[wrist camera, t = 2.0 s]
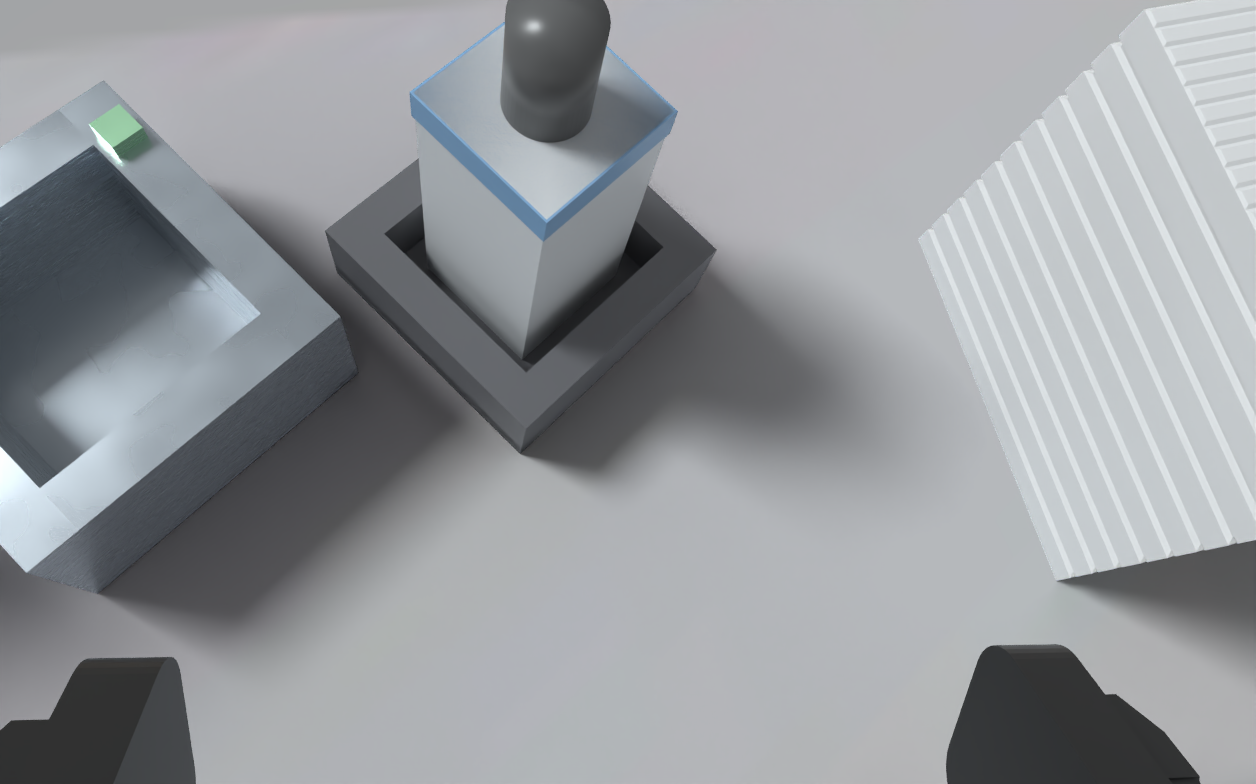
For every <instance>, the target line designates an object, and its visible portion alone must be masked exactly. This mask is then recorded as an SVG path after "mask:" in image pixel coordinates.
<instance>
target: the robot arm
mask: <svg viewBox="0 0 1256 784" xmlns="http://www.w3.org/2000/svg"><path fill="white" fill-rule="evenodd" d="M946 773H947V783H948V784H1200V781H1199V777H1200V776H1199V775H1198V774H1197V773H1196V771H1195V770H1194V769H1193V768H1192V766H1191V765H1190V764H1189V763H1188V761H1187V760H1186V759H1185V758H1184V756H1183V755H1182V754H1181V753H1180V751H1179V750H1178V749H1177V747H1176V746H1175V745H1174V744H1173V742H1172V741H1171V740H1170V739H1169V737H1168V736H1167V735H1166V734H1165V732H1164V731H1162V730H1161V729H1160V728H1158V727H1157V726H1156V725H1155V724H1153V723H1152V722H1151V721H1149V720H1148V719H1147V718H1146V717H1144V716H1143V715H1142V714H1141V713H1139V712H1138V711H1137V710H1135V709H1134V708H1133V707H1132V706H1130V705H1129V704H1128V703H1126V702H1125V701H1124V700H1123V699H1121V698H1120V697H1119V696H1117V695H1116V694H1108V695H1105V694H1104V693H1103V691H1102V690H1101V689H1100V687H1099V686H1098V685H1097V683H1096V682H1095V681H1094V679H1093V678H1092V677H1091V675H1090V674H1089V673H1088V671H1087V670H1086V669H1085V667H1084V666H1083V665H1082V664H1081V662H1080V661H1079V660H1078V658H1077V657H1076V656H1075V655H1074V654H1073V652H1071V651H1070V650H1069V649H1068V648H1066V647H1064V646H1062V645H1057V644H1054V645H997V646H990V647H988V648H986V649H985V650H984V651H983V652H982V654H981V655H980V657H979V659H978V662H977V665H976V668H975V671H974V674H973V677H972V679H971V682H970V685H969V688H968V691H967V694H966V697H965V700H964V703H963V706H962V709H961V712H960V715H959V718H958V721H957V724H956V727H955V729H954V732H953V735H952V738H951V741H950V744H949V748H948V752H947V760H946ZM0 784H196V777H195V767H194V760H193V754H192V747H191V740H190V733H189V727H188V720H187V713H186V707H185V700H184V693H183V687H182V680H181V674H180V669H179V666H178V663H177V661H176V660H175V659H174V658H172V657H154V658H95V659H85V660H83V661H82V662H81V663H80V664H79V665H78V666H77V668H76V669H75V671H74V673H73V674H72V676H71V678H70V680H69V682H68V684H67V686H66V688H65V690H64V692H63V694H62V696H61V697H60V699H59V701H58V703H57V705H56V707H55V709H54V711H53V713H52V715H51V717H50V719H49V720H15V721H10V722H9V723H8V724H7V725H6V726H5V727H4V728H3V729H1V730H0Z"/></svg>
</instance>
